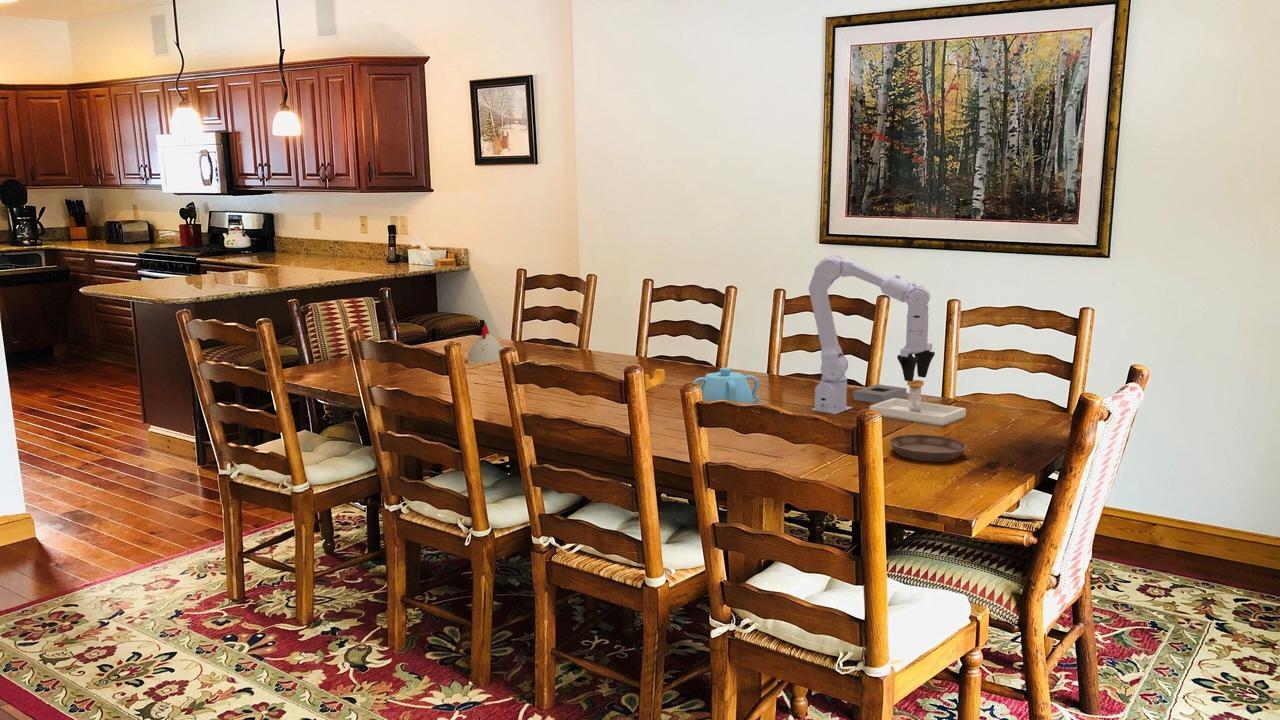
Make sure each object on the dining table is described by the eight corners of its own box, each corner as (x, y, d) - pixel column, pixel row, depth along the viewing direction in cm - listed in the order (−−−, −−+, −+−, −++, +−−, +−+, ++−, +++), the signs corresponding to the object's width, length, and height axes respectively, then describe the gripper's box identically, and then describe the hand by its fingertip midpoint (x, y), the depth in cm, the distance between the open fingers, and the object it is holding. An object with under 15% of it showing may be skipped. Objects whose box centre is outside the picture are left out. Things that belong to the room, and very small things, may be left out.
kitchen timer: (464, 369, 362) (462, 328, 360) (472, 362, 376) (470, 323, 373) (502, 369, 361) (500, 328, 359) (508, 362, 375) (507, 323, 372)
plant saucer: (936, 442, 250) (936, 431, 250) (981, 460, 234) (982, 447, 233) (875, 449, 245) (875, 437, 244) (916, 467, 228) (917, 455, 228)
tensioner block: (882, 405, 292) (883, 395, 292) (853, 401, 299) (853, 391, 299) (906, 397, 303) (906, 388, 302) (876, 393, 309) (877, 384, 309)
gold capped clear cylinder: (917, 415, 277) (918, 383, 275) (903, 412, 280) (904, 381, 278) (925, 412, 280) (926, 381, 278) (912, 410, 283) (912, 379, 281)
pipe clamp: (653, 388, 324) (652, 368, 323) (664, 389, 322) (664, 369, 321) (634, 394, 314) (633, 374, 313) (646, 396, 312) (645, 375, 310)
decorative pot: (729, 424, 272) (730, 375, 270) (684, 416, 283) (684, 368, 280) (765, 414, 284) (765, 367, 281) (720, 406, 294) (721, 361, 292)
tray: (942, 426, 266) (942, 417, 266) (869, 414, 281) (869, 405, 281) (965, 417, 276) (965, 408, 276) (893, 406, 291) (894, 398, 291)
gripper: (917, 334, 268) (915, 384, 270) (942, 329, 278) (940, 376, 280) (894, 332, 272) (892, 381, 275) (919, 326, 283) (917, 373, 285)
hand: (915, 378), depth 278 cm, fingers open, 7 cm apart
